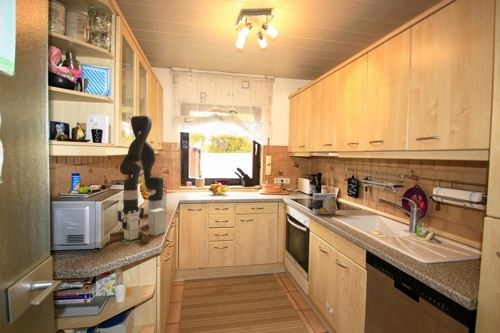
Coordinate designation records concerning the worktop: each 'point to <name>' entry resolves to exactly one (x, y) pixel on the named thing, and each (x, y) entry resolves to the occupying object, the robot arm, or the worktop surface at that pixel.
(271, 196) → the worktop surface
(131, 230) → the syrup box
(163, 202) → the cracker box
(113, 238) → the arena
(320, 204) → the cake pan box
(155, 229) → the skincare box
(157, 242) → the worktop surface
